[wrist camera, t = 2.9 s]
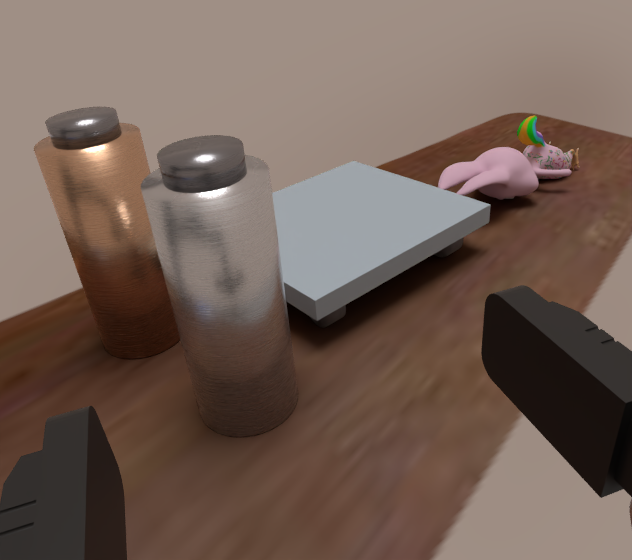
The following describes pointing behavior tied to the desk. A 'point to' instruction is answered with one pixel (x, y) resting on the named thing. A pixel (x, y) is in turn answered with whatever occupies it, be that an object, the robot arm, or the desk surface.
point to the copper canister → (109, 227)
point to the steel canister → (224, 281)
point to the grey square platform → (362, 233)
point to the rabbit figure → (511, 167)
